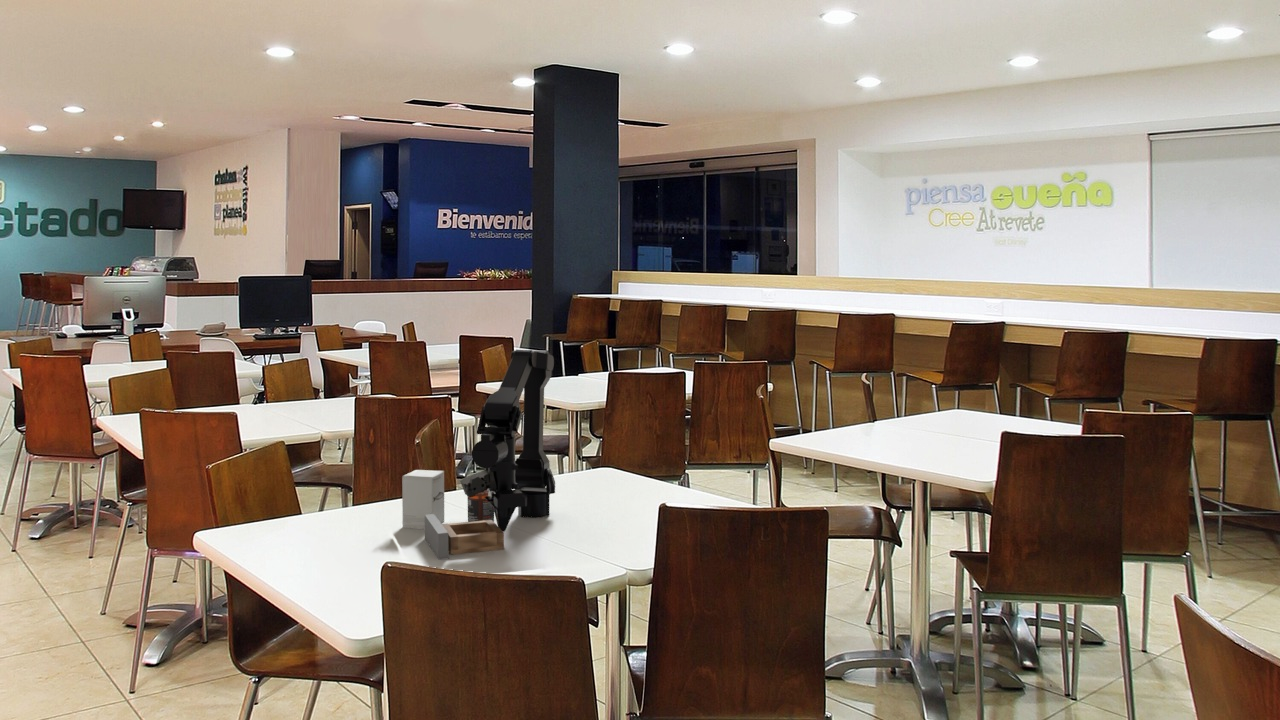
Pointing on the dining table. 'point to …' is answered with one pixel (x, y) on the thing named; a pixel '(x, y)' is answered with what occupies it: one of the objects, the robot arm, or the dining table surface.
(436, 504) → the supplement box
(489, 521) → the wooden tray
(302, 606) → the dining table surface
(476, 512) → the supplement bottle
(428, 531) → the backstop
